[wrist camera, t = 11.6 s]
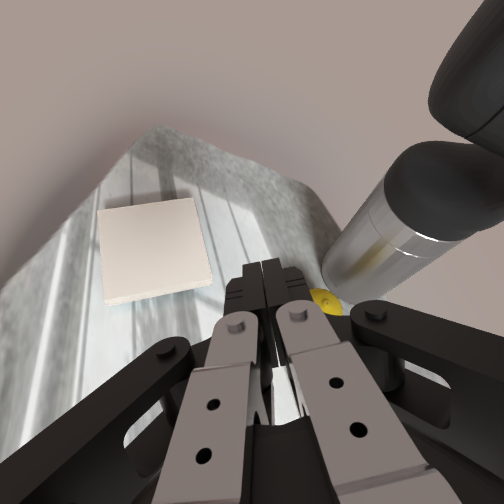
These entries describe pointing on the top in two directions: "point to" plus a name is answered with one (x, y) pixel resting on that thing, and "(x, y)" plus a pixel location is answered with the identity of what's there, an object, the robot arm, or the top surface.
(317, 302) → the lemon
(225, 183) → the top surface
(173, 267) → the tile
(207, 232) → the top surface
